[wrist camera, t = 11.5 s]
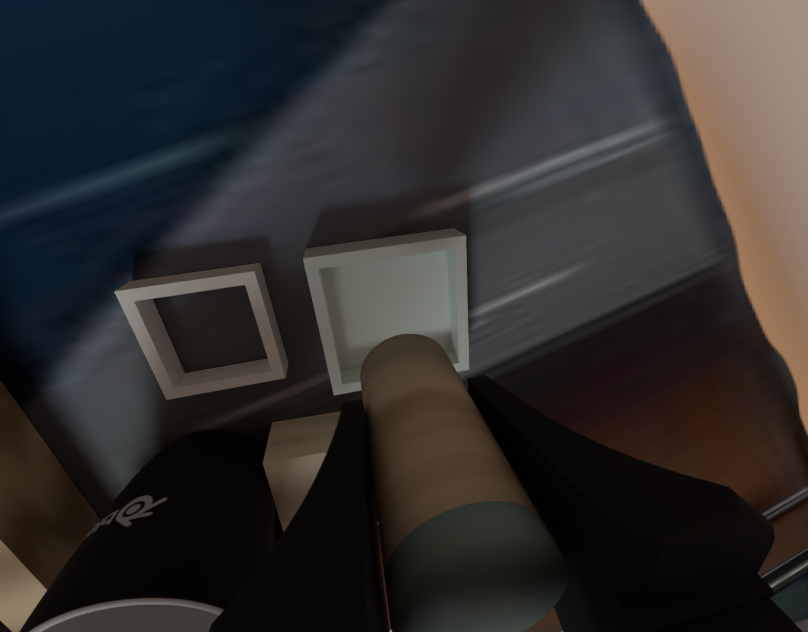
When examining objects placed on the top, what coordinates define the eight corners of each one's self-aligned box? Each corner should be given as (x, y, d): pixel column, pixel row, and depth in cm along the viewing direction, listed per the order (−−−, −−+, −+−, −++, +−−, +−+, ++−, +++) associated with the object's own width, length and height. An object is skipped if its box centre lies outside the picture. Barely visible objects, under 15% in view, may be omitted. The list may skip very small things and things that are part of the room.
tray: (458, 352, 23) (469, 369, 21) (333, 375, 22) (333, 395, 20) (453, 228, 19) (466, 235, 18) (305, 248, 18) (302, 258, 17)
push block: (375, 479, 26) (381, 524, 23) (293, 495, 26) (287, 544, 22) (366, 404, 23) (371, 444, 20) (272, 419, 23) (262, 463, 19)
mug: (210, 385, 21) (113, 566, 11) (317, 463, 24) (308, 645, 15) (69, 498, 22) (-117, 740, 13) (191, 555, 26) (115, 772, 17)
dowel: (451, 401, 15) (560, 626, 8) (367, 418, 15) (401, 673, 7) (447, 325, 13) (577, 520, 6) (353, 342, 13) (378, 572, 6)
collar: (288, 363, 21) (285, 378, 20) (177, 383, 20) (166, 400, 19) (260, 262, 18) (254, 271, 17) (131, 280, 17) (114, 291, 16)
